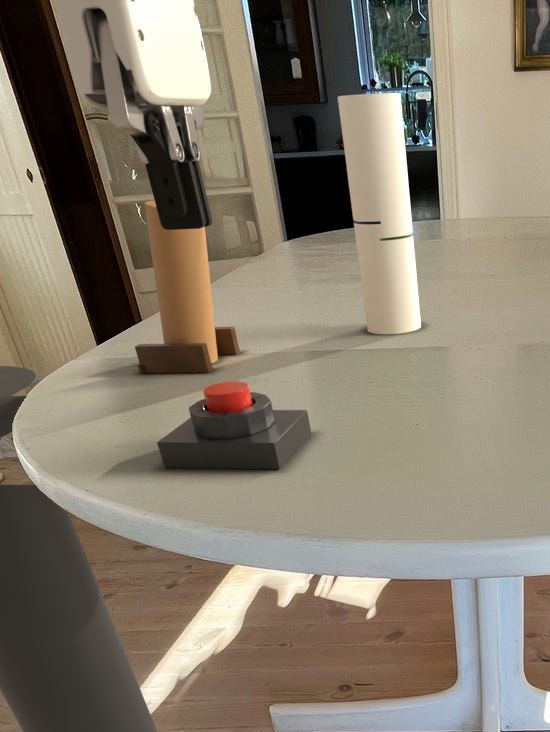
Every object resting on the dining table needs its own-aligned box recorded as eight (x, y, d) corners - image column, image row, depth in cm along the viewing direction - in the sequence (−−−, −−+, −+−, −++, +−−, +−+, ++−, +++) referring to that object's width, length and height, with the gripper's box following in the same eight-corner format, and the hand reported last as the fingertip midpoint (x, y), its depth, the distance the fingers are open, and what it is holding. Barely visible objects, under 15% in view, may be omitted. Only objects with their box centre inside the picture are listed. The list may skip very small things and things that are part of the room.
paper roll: (225, 355, 90) (212, 205, 81) (205, 369, 85) (187, 211, 76) (180, 348, 90) (161, 197, 81) (157, 361, 86) (133, 203, 76)
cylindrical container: (377, 321, 102) (350, 97, 87) (427, 321, 100) (408, 93, 86) (360, 334, 96) (328, 96, 82) (412, 334, 95) (389, 92, 80)
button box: (164, 468, 61) (149, 420, 58) (207, 433, 67) (195, 389, 65) (279, 469, 59) (269, 420, 57) (311, 434, 66) (303, 389, 63)
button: (201, 416, 60) (195, 394, 59) (219, 402, 63) (214, 381, 62) (242, 416, 59) (237, 394, 58) (259, 402, 62) (255, 381, 61)
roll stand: (240, 352, 91) (234, 326, 90) (208, 373, 84) (201, 345, 82) (176, 352, 92) (169, 327, 91) (139, 373, 85) (131, 346, 83)
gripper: (110, -96, 49) (187, 218, 60) (-50, -162, 37) (81, 244, 48) (215, -107, 48) (274, 214, 59) (85, -180, 36) (189, 240, 47)
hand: (187, 227), depth 53 cm, fingers closed
